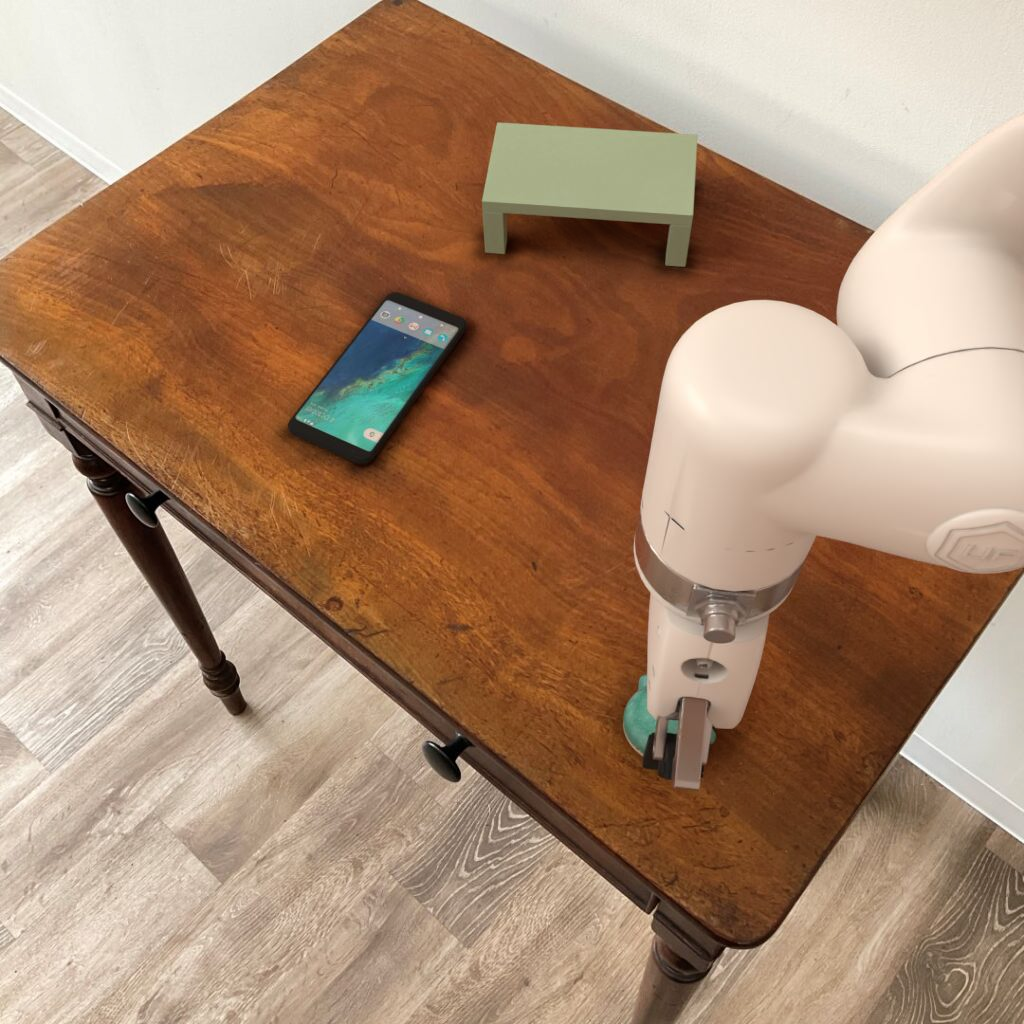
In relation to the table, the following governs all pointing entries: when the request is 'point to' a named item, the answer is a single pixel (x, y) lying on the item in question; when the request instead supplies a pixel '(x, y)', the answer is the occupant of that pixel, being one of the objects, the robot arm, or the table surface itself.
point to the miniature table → (591, 179)
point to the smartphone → (377, 378)
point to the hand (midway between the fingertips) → (674, 685)
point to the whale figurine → (644, 720)
